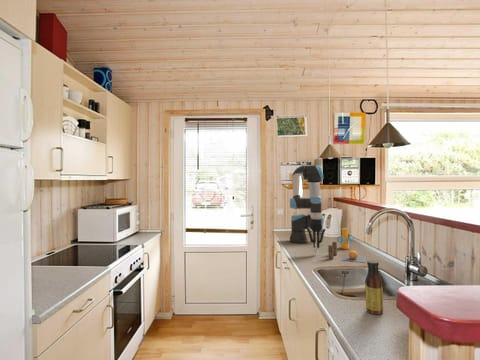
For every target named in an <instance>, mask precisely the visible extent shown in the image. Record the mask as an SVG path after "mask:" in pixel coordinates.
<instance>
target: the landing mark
mask: <svg viewBox="0 0 480 360" xmlns="http://www.w3.org/2000/svg"><path fill="white" fill-rule="evenodd" d="M367 260H368V257H367V256H366V257H365V256H357V258H356V259H351V258H350V257H349V255H344V257H343V258H342V259H341V261H345V262H353V263H362V264H363V263H365V264H366V262H367Z"/></svg>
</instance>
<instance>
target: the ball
mask: <svg viewBox="0 0 480 360" xmlns="http://www.w3.org/2000/svg"><path fill="white" fill-rule="evenodd" d="M348 256H349V257H350V258H351V259H356V258H357V257H359V256H358V252H357V251H356V250H350V251H349V252H348Z"/></svg>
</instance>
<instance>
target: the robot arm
mask: <svg viewBox="0 0 480 360" xmlns="http://www.w3.org/2000/svg"><path fill="white" fill-rule="evenodd" d="M291 180H292V198H290V199H289V208H290V209H295V210H296V209H299V210H300V209H301V210H302V209H307V210H308V209H309V211H308V212H307V215H306V214H305V213H297V214H292V215H291V217H290V218H291V220H290V221H291V224H290V225H291V233H290V235H289V242H290V243H293V244H294V243H295V244H304V243H308V242H309V241H308V237H307V236H309V240H310V242H311V243H312V244H313V245H312V246H313V248H314V253H315V254H318V253H319V248H320V243H322V242H323V239H324V236H325V235H324V234H325V233H326V230H327V229H326V228H324V227H323V226H324V219H325V216H324V215H323V213H322V202H323V201H322V196H321V192H320V191H321V183H322V181H323V180H324V173H323V167H322V165H316V164H311V165H300V166H297V168H296V169H294V171H293V173H292V175H291ZM305 180H306V181H307V184H308V191H309V193H308V194H309V195H308V198H307V197H306V198H305V197H303V196H304V191H303V189H304V181H305ZM306 230H307V232H308V235H307V234H306ZM320 232H321V234H320Z"/></svg>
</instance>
